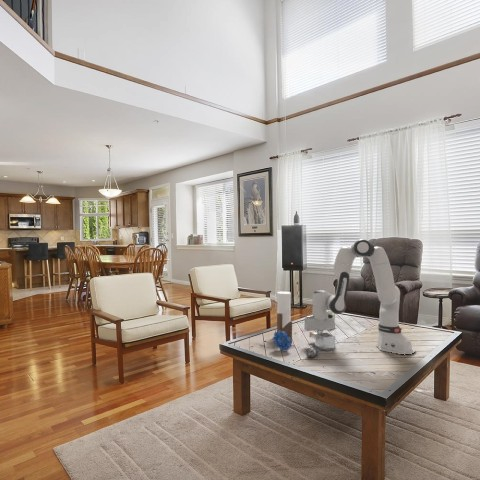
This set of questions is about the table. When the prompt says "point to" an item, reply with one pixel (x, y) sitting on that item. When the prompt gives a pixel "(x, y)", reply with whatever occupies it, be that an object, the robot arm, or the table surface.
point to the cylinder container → (284, 307)
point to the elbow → (323, 340)
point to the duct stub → (311, 352)
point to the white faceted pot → (325, 349)
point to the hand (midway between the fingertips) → (319, 336)
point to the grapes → (282, 340)
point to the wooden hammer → (286, 329)
